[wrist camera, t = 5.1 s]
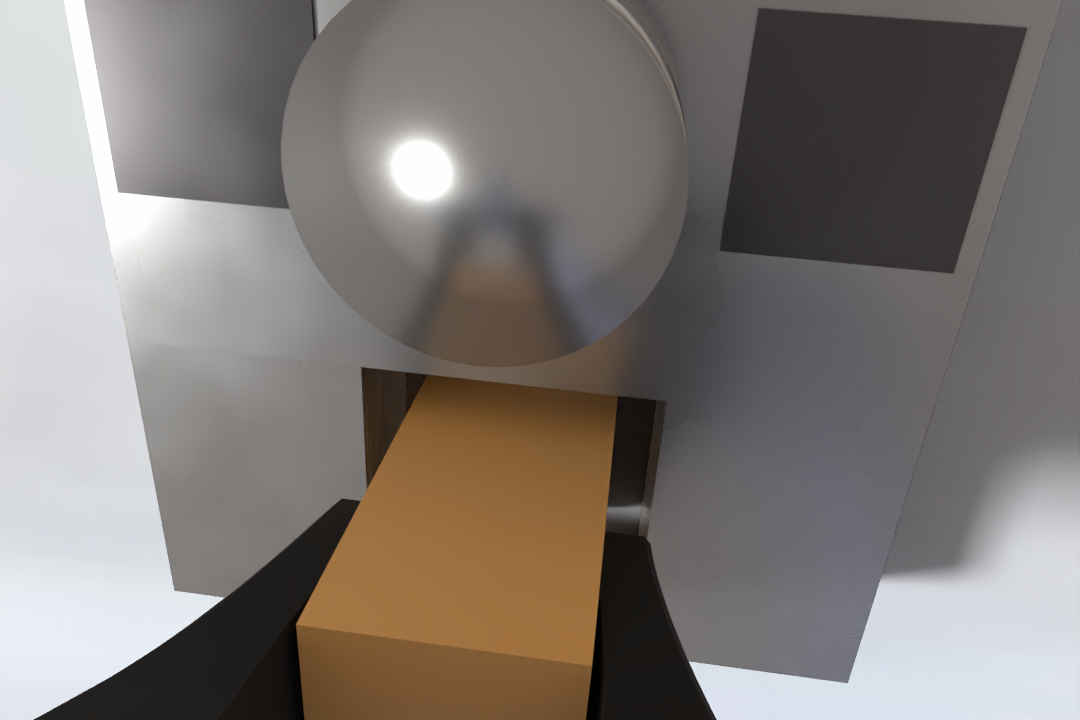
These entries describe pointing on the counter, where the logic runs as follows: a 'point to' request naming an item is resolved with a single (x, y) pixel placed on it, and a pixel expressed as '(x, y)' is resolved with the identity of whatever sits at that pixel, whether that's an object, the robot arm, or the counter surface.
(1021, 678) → the counter surface
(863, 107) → the gray tray with knob
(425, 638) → the orange rectangular box
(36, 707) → the counter surface
